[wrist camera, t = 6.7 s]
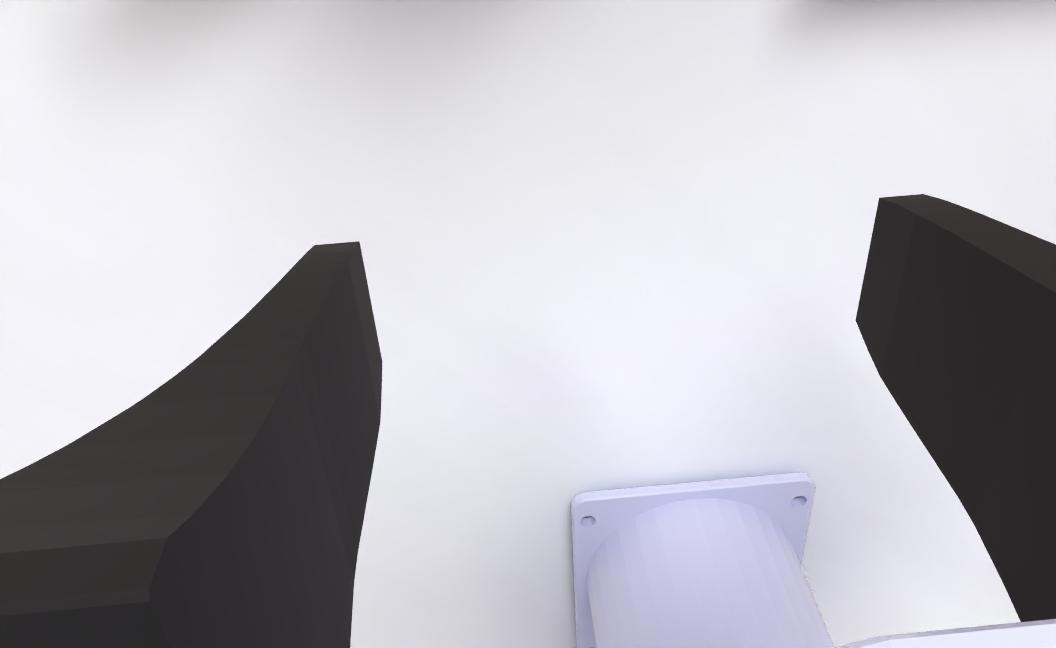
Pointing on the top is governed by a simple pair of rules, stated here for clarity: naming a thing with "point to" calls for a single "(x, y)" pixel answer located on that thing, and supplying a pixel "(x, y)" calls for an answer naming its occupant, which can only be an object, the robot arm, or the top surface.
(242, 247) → the top surface
